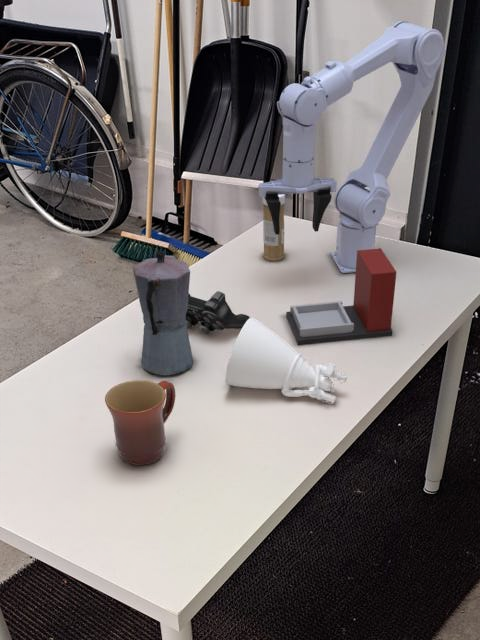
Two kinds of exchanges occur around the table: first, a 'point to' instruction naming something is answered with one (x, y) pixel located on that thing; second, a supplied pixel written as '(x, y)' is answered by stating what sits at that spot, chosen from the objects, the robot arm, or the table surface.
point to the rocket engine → (276, 365)
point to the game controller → (213, 314)
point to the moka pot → (164, 313)
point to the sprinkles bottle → (273, 233)
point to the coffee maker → (351, 321)
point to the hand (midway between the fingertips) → (296, 231)
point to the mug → (140, 418)
